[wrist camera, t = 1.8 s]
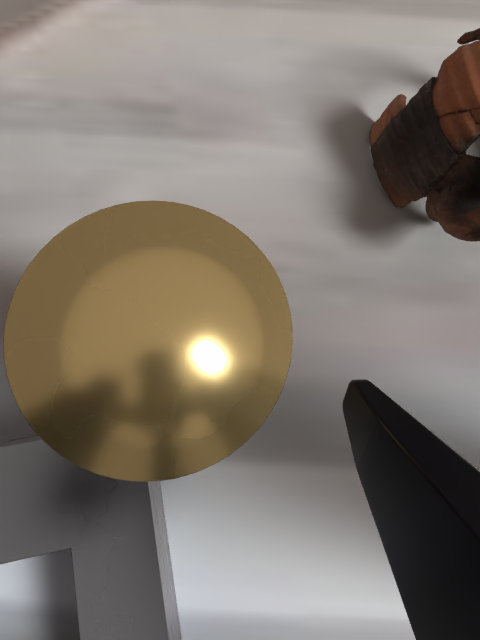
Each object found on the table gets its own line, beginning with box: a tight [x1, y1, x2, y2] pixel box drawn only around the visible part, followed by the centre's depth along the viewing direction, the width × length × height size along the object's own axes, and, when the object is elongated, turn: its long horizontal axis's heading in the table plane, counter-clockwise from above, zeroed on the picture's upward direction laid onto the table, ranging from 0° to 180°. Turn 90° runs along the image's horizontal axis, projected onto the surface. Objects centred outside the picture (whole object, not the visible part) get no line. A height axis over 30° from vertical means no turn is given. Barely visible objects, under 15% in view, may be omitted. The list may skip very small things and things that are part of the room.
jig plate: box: [0, 436, 181, 640], centre depth 14 cm, size 14×12×3 cm
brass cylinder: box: [4, 201, 292, 481], centre depth 12 cm, size 5×5×12 cm
